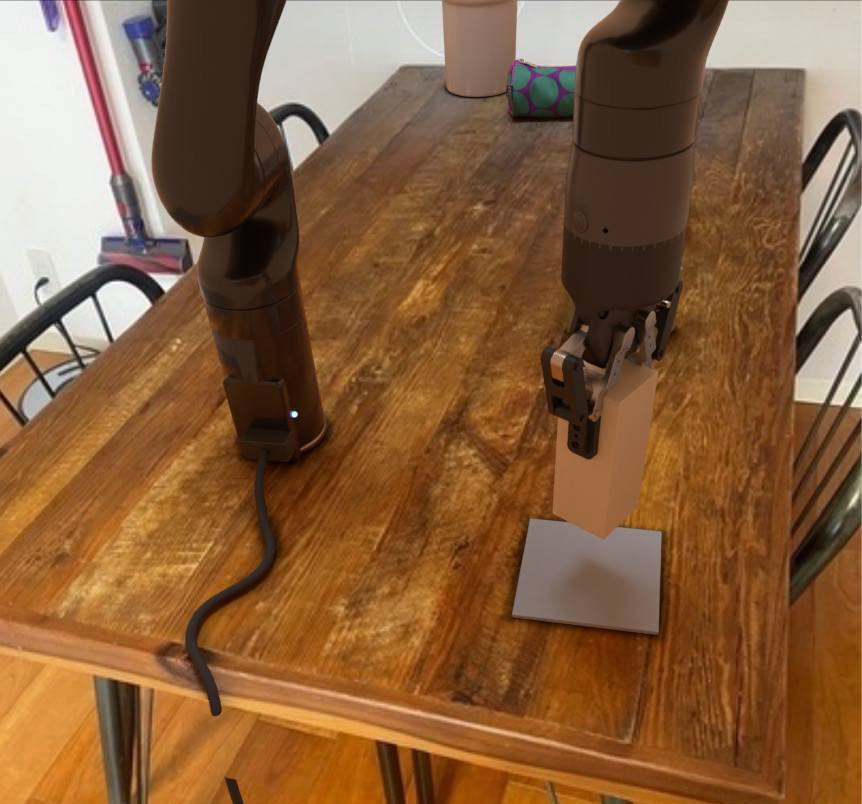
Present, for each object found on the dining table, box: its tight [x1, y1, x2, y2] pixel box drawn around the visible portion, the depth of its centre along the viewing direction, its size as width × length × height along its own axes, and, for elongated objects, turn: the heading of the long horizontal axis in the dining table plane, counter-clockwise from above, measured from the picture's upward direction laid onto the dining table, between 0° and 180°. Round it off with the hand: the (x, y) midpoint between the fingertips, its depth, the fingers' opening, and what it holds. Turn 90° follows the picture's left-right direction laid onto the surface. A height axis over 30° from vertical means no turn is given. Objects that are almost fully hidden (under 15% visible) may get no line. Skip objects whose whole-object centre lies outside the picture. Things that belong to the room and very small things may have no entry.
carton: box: [552, 358, 659, 540], centre depth 65 cm, size 13×5×5 cm
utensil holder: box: [441, 0, 518, 98], centre depth 166 cm, size 15×15×18 cm
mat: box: [511, 517, 663, 636], centre depth 75 cm, size 12×12×1 cm
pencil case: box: [505, 57, 576, 119], centre depth 155 cm, size 21×9×10 cm, turn 85°
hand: (604, 434), depth 64 cm, fingers closed on carton, 5 cm apart
